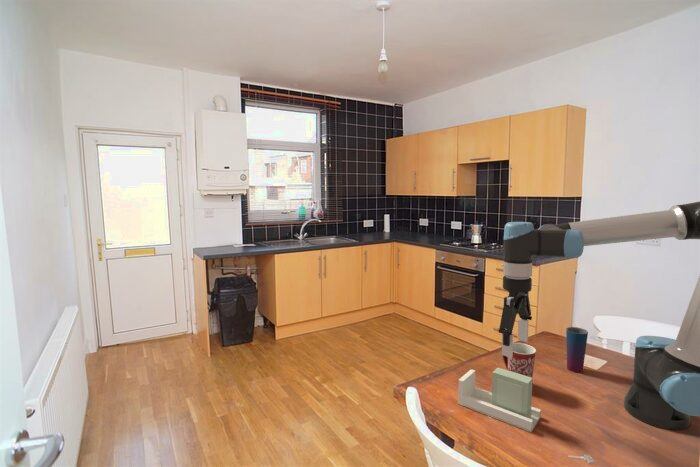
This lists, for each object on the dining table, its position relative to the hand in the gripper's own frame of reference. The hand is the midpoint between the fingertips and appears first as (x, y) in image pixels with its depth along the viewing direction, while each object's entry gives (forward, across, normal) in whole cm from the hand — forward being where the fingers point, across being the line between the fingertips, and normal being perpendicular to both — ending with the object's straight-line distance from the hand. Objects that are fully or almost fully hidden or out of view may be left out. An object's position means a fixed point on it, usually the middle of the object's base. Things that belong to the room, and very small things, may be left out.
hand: (515, 347), depth 109 cm
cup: (+21, -43, +8) cm, 49 cm away
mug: (+21, -19, -6) cm, 29 cm away
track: (+21, +1, -4) cm, 21 cm away
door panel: (+20, +1, -1) cm, 20 cm away
